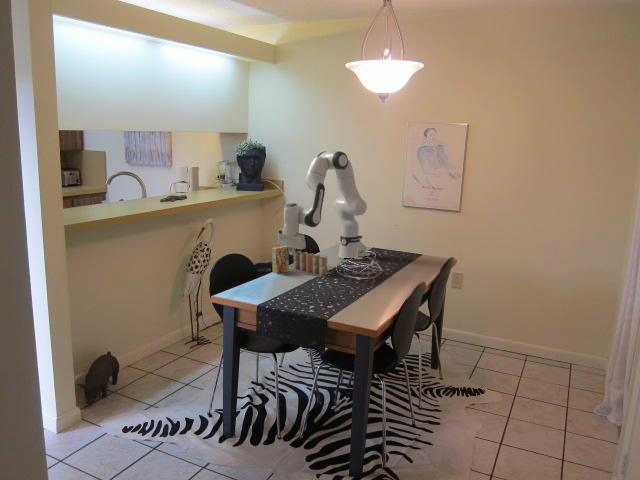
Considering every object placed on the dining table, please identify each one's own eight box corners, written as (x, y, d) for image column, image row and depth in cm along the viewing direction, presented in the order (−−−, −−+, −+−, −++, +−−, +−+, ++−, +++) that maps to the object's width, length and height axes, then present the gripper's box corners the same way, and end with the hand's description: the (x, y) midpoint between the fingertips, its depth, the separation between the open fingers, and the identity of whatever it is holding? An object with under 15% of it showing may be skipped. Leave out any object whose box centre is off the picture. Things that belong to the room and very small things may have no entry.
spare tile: (312, 270, 297) (312, 253, 295) (314, 270, 296) (314, 253, 294) (306, 271, 293) (306, 254, 291) (308, 272, 292) (308, 255, 290)
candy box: (284, 271, 298) (284, 245, 295) (289, 272, 295) (288, 246, 292) (272, 274, 293) (271, 247, 290) (276, 275, 289) (276, 249, 286)
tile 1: (299, 267, 303) (299, 250, 301) (301, 267, 302) (301, 251, 300) (293, 268, 299) (293, 252, 297) (295, 269, 298) (295, 252, 296)
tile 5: (325, 273, 290) (325, 255, 288) (327, 273, 289) (327, 256, 287) (319, 274, 286) (319, 257, 284) (321, 275, 285) (321, 257, 283)
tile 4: (318, 271, 293) (318, 254, 291) (320, 272, 292) (320, 254, 290) (312, 273, 290) (312, 256, 288) (314, 273, 289) (314, 256, 287)
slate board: (302, 267, 307) (302, 265, 306) (332, 274, 291) (332, 272, 291) (287, 271, 298) (287, 269, 298) (318, 279, 282) (318, 277, 282)
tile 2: (305, 268, 300) (305, 251, 298) (307, 269, 299) (307, 252, 297) (299, 270, 296) (299, 253, 294) (301, 270, 295) (301, 253, 293)
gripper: (308, 233, 295) (308, 256, 298) (283, 228, 309) (283, 251, 311) (300, 234, 291) (300, 258, 293) (275, 230, 304) (276, 253, 307)
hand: (291, 254), depth 302 cm, fingers closed
